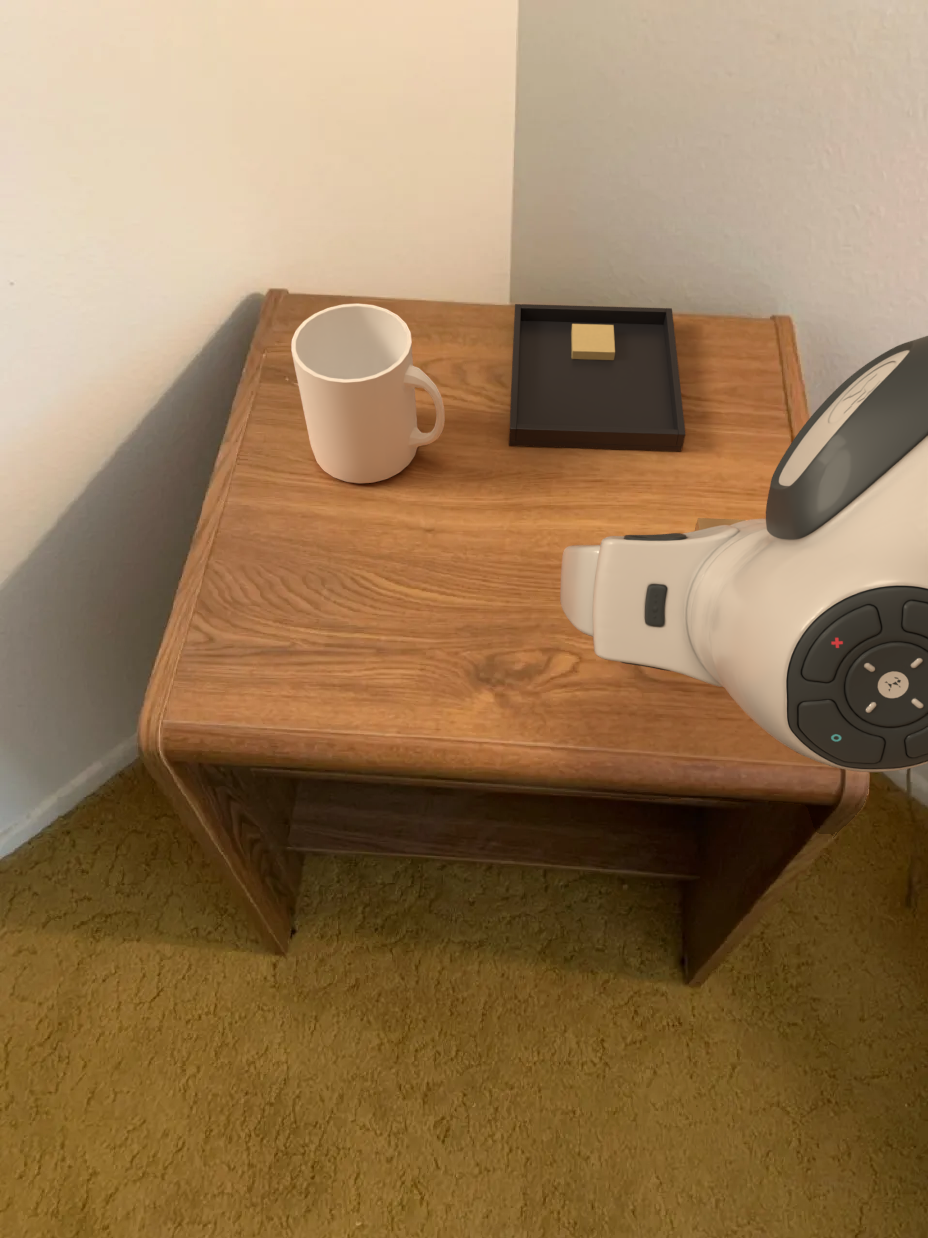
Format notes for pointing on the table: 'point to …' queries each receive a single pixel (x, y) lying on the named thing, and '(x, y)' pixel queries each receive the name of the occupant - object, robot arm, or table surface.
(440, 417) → the mug
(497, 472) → the table surface
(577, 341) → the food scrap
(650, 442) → the black tray
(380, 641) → the table surface
